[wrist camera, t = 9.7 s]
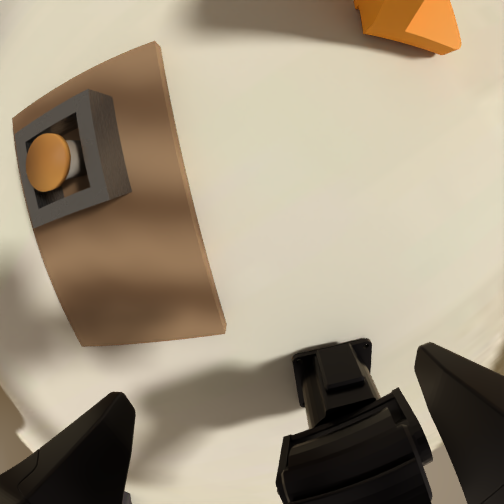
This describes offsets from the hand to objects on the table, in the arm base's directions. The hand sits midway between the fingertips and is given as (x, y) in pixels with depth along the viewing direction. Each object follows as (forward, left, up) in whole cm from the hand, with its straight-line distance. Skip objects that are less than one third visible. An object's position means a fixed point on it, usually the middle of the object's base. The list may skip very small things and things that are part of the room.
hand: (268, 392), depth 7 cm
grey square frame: (+9, +10, -11) cm, 17 cm away
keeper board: (+5, +10, -12) cm, 16 cm away
